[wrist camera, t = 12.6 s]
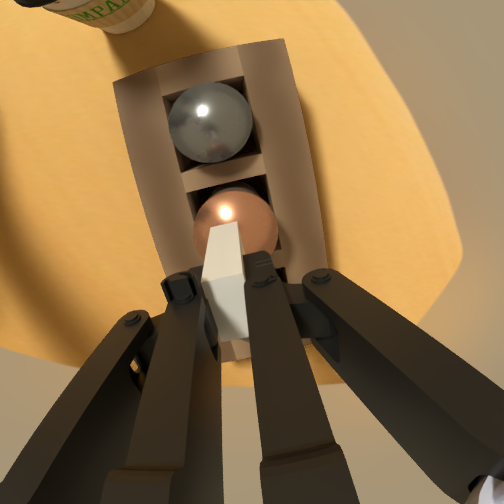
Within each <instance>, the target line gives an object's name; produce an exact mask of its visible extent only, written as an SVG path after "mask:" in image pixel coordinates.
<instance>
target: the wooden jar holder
mask: <svg viewBox="0 0 504 504" xmlns="http://www.w3.org/2000/svg"><path fill="white" fill-rule="evenodd" d="M208 82H215V83H222V84H225V85H228V86H230V87H232V88H234V89H235V90H240V89H242V93H243V97H244V98H245V99H246V101H247V103H248V105H249V107H250V110H251V113H252V129H251V132H252V137H253V141H254V145H255V150H256V151H253V152H248V153H244V154H239V155H235V156H232V157H230V158H228V159H226V160H223V161H220V162H214V163H202V164H198V165H195V166H191V162H190V158H188V157H187V156H185V155H184V154H182V153H181V152H180V151H179V150H178V149H177V147H176V146H175V145H174V143H173V141H172V139H171V136H170V133H169V125H168V122H169V115H170V111H171V109H172V107H173V105H174V103H175V101H176V100H177V99H178V97H179V96H180V95H181V94H182V93H184V92H185V91H186V90H188V89H189V88H191V87H193V86H195V85H198V84H202V83H208ZM113 88H114V93H115V98H116V103H117V107H118V112H119V117H120V121H121V125H122V130H123V134H124V138H125V142H126V146H127V150H128V154H129V158H130V162H131V166H132V169H133V173H134V177H135V180H136V184H137V188H138V191H139V195H140V198H141V201H142V205H143V208H144V211H145V215H146V218H147V221H148V224H149V227H150V231H151V234H152V237H153V240H154V243H155V246H156V249H157V252H158V255H159V258H160V261H161V263H162V266H163V269H164V272H165V275H166V277H168V276H170V275H172V274H174V273H177V272H181V271H188V270H189V269H190V268H193V267H197V266H201V265H204V259H203V258H202V257H201V256H200V254H199V253H198V251H197V249H196V247H195V244H194V240H193V225H194V221H195V218H196V215H197V213H198V211H199V209H200V208H201V206H202V204H201V200H200V197H199V193H198V190H199V189H203V188H207V187H211V186H215V185H219V184H223V183H227V182H231V181H235V180H240V179H244V178H249V177H253V176H258V175H261V177H262V182H263V186H264V191H265V196H266V200H267V204H268V205H269V206H270V208H271V210H272V211H273V213H274V215H275V218H276V220H277V224H278V240H277V244H276V247H275V249H274V251H273V252H272V254H271V259H272V262H273V265H274V268H275V269H277V268H280V269H281V274H282V279H283V282H285V283H290V284H300V283H302V278H303V276H304V275H305V274H306V273H308V272H310V271H313V270H316V269H319V268H321V269H322V268H327V269H328V262H327V254H326V247H325V239H324V232H323V225H322V218H321V212H320V205H319V199H318V193H317V187H316V181H315V175H314V170H313V164H312V159H311V154H310V148H309V143H308V138H307V133H306V129H305V124H304V119H303V114H302V110H301V105H300V101H299V97H298V92H297V88H296V84H295V80H294V76H293V72H292V68H291V64H290V60H289V56H288V52H287V48H286V45H285V41H284V38H283V39H275V40H268V41H261V42H254V43H248V44H242V45H237V46H232V47H227V48H222V49H218V50H213V51H209V52H205V53H201V54H197V55H193V56H189V57H185V58H182V59H178V60H175V61H171V62H168V63H165V64H162V65H159V66H155V67H152V68H149V69H147V70H144V71H141V72H138V73H135V74H133V75H130V76H127V77H125V78H122V79H120V80H117V81H115V82H113ZM301 340H302V343H303V346H304V345H308V344H312V342H311V340H310V338H302V339H301ZM218 342H219V345H220V348H221V363H223V362H229V361H234V360H240V359H245V358H250V357H251V352H250V343H249V342H247V341H243V340H240V339H235V340H231V341H226V342H221V340H220V337H219V334H218Z"/></svg>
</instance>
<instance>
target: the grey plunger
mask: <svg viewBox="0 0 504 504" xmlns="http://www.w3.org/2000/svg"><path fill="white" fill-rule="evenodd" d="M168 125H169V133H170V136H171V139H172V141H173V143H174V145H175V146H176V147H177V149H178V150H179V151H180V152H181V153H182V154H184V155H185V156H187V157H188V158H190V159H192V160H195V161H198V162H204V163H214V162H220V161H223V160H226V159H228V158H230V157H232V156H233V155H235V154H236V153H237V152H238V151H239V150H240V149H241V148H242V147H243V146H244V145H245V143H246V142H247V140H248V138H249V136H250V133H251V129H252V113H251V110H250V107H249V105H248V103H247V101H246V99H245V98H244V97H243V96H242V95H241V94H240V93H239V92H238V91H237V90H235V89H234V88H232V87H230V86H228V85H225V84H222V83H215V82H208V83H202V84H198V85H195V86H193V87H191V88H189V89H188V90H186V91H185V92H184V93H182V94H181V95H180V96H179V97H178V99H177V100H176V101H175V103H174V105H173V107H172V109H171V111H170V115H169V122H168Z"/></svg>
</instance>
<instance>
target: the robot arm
mask: <svg viewBox="0 0 504 504" xmlns="http://www.w3.org/2000/svg"><path fill="white" fill-rule="evenodd" d="M160 284H161V286H162V289H163V292H164V294H165V297H166V299H167V302H168V304H167V307H166V311H165V313H162V314H160V315H158V316H155V317H152V318H150V316H149V314H148V312H147V311H145V310H136V311H135V310H134V311H131V312H128V313H127V314H126V315H124V316H123V317H122V318H121V319H119V320H118V322H117V323H116V324H115V325H114V327H113V328H112V329H111V330H110V332H109V333H108V334H107V335H106V336H105V338H104V339H103V340H102V342H101V343H100V344H99V345H98V347H97V348H96V349H95V350H94V352H93V353H92V354H91V355H90V357H89V358H88V359H87V361H86V362H85V363H84V365H83V366H82V367H81V368H80V370H79V371H78V372H77V374H76V375H75V376H74V378H73V379H72V380H71V382H70V383H69V384H68V386H67V387H66V389H65V390H64V391H63V393H62V394H61V395H60V397H59V398H58V399H57V401H56V402H55V404H54V405H53V406H52V408H51V409H50V410H49V412H48V413H47V415H46V416H45V418H44V419H43V420H42V422H41V423H40V425H39V426H38V428H37V429H36V431H35V432H34V433H33V435H32V436H31V438H30V439H29V441H28V443H27V444H26V445H25V447H24V448H23V450H22V451H21V453H20V455H19V456H18V458H17V459H16V461H15V462H14V464H13V465H12V467H11V469H10V470H9V472H8V474H7V475H6V477H5V478H4V480H3V481H2V482H1V483H0V504H224V496H223V495H224V493H223V464H222V463H223V462H222V414H221V413H222V412H221V411H222V409H221V348H220V345H219V342H218V334H219V337H220V340H221V342H226V341H231V340H235V339H240V338H245V337H249V343H250V352H251V361H252V370H253V379H254V388H255V397H256V404H257V414H258V422H259V431H260V439H261V447H262V457H263V458H262V461H261V463H260V480H261V488H262V496H263V504H360V503H359V500H358V496H357V493H356V490H355V487H354V484H353V481H352V477H351V474H350V471H349V468H348V465H347V462H346V459H345V457H344V454H343V451H342V449H341V447H340V445H338V444H336V442H335V439H334V436H333V434H332V430H331V427H330V424H329V421H328V418H327V415H326V412H325V409H324V406H323V403H322V400H321V397H320V394H319V391H318V387H317V384H316V381H315V378H314V375H313V373H312V370H311V367H310V364H309V361H308V358H307V355H306V352H305V349H304V346H303V343H302V340H301V339H302V338H310V340H311V342H312V344H313V345H314V347H315V348H316V349H317V350H318V351H319V352H320V354H321V355H322V356H323V357H324V358H325V359H326V361H327V362H328V363H329V364H330V365H331V366H332V368H333V369H334V370H335V371H336V372H337V373H338V375H339V376H340V377H341V378H342V379H343V380H344V382H345V383H346V384H347V385H348V386H349V387H350V388H351V390H352V391H353V392H354V393H355V394H356V395H357V397H359V399H360V400H361V401H362V402H363V403H364V405H365V406H366V407H367V408H368V409H369V410H370V411H371V413H372V414H373V415H374V416H375V417H376V418H377V419H378V420H379V422H380V423H381V424H382V425H383V426H384V427H385V429H386V430H387V431H388V432H389V433H390V434H391V435H392V436H393V438H394V439H395V440H396V441H397V442H398V443H399V444H400V446H401V447H402V448H403V449H404V450H405V451H406V452H407V453H408V455H410V457H411V458H412V459H413V460H414V461H415V462H416V463H417V465H418V466H419V467H420V468H421V469H422V470H423V471H424V472H425V474H426V475H427V476H428V477H429V478H430V479H431V480H432V481H433V482H434V483H435V484H436V485H437V486H438V487H439V488H440V489H441V490H442V491H443V492H444V493H445V494H447V495H448V496H449V497H451V498H452V499H454V500H455V501H456V502H458V503H460V504H504V390H503V389H501V388H500V387H499V386H498V385H496V384H495V383H494V382H492V381H491V380H490V379H488V378H487V377H486V376H484V375H483V374H482V373H480V372H479V371H478V370H476V369H475V368H474V367H472V366H471V365H470V364H468V363H467V362H466V361H464V360H463V359H462V358H460V357H459V356H458V355H456V354H455V353H453V352H452V351H451V350H449V349H448V348H446V347H445V346H444V345H442V344H441V343H440V342H438V341H437V340H435V339H434V338H433V337H431V336H430V335H429V334H427V333H426V332H424V331H423V330H422V329H420V328H419V327H417V326H416V325H415V324H413V323H412V322H410V321H409V320H408V319H406V318H405V317H403V316H402V315H400V314H399V313H398V312H396V311H395V310H393V309H392V308H390V307H389V306H387V305H386V304H385V303H383V302H382V301H380V300H379V299H377V298H376V297H374V296H373V295H372V294H370V293H369V292H367V291H366V290H364V289H363V288H361V287H360V286H358V285H357V284H355V283H354V282H352V281H351V280H349V279H348V278H347V277H345V276H344V275H342V274H341V273H339V272H338V271H335V270H333V269H327V268H322V269H321V268H319V269H316V270H313V271H310V272H308V273H306V274H305V275H304V276H303V278H302V283H300V284H290V283H285V282H282V281H281V279H280V277H279V276H278V275H277V273H276V270H275V268H274V265H273V262H272V259H271V256H270V253H268V252H266V251H264V250H263V251H258V252H254V253H250V254H245V252H244V248H243V244H242V239H241V235H240V231H239V227H238V223H237V221H235V222H231V223H227V224H223V225H219V226H215V227H210V233H209V238H208V244H207V249H206V255H205V261H204V265H201V266H197V267H193V268H190V269H189V270H188V271H181V272H177V273H174V274H172V275H170V276H168V277H166V278H165V279H164V280H163V281H162V282H161V283H160ZM133 359H134V361H135V362H136V364H137V366H138V368H137V370H136V371H135V372H134V371H133V369H132V368H131V366H130V364H131V362H132V361H133Z"/></svg>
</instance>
